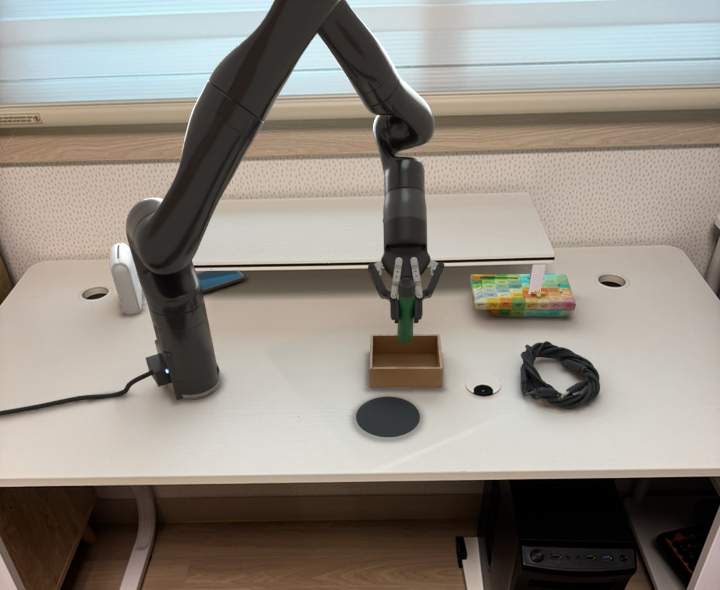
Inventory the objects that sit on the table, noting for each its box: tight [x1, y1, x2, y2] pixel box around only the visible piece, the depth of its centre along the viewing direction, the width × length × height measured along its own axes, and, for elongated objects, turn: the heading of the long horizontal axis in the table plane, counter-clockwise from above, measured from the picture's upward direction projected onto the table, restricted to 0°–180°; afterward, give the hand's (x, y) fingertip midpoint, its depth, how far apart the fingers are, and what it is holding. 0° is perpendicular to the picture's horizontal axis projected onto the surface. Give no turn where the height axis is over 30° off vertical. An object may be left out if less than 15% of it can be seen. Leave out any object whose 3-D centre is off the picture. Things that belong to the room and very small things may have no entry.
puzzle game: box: [469, 273, 577, 318], centre depth 143 cm, size 12×5×20 cm
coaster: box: [355, 396, 421, 438], centre depth 119 cm, size 11×11×1 cm
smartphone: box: [197, 270, 246, 294], centre depth 154 cm, size 8×15×1 cm, turn 123°
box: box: [368, 333, 444, 388], centre depth 127 cm, size 13×11×4 cm
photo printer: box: [109, 242, 143, 315], centre depth 145 cm, size 10×4×12 cm, turn 12°
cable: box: [520, 340, 601, 409], centre depth 125 cm, size 17×14×4 cm
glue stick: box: [396, 279, 416, 343], centre depth 120 cm, size 3×3×11 cm
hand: (406, 321), depth 119 cm, fingers closed on glue stick, 3 cm apart
